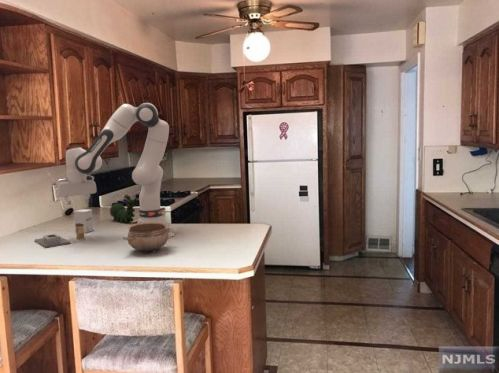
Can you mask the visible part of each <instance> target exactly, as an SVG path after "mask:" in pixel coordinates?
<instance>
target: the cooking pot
mask: <svg viewBox="0 0 499 373" xmlns="http://www.w3.org/2000/svg"><path fill="white" fill-rule="evenodd" d="M165 226H166V224H165V223H162V222H144V223H138V222H137V223H134V224H130V225H128V233H127V237H124V236H123V237H122V240H125V241H127V243H128V245H129V246H130V247H131V248H133V249H135V250H136V251H139V252H141V253H143V254H148V253H155V252H156V251H158V250H159V249H160V248H162V247H163V246H165V245H166V243H167V242H168V239H169V238H168V233H169V232H171V230H172V229H171V228H167V229H166V227H165ZM167 230H168V231H167ZM154 251H155V252H154Z"/></svg>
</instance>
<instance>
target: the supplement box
mask: <svg viewBox="0 0 499 373" xmlns="http://www.w3.org/2000/svg"><path fill="white" fill-rule="evenodd" d="M73 216H74V229H75V230H74V231H75V234H76V224H78V223H81V224H83V225H84V234H88V233H89V232H92V231H94V223H93V222H94V219H93V218H94V217H93V209H83V208H82V209H78V210H75V211H73Z"/></svg>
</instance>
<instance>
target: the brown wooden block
mask: <svg viewBox="0 0 499 373" xmlns="http://www.w3.org/2000/svg"><path fill="white" fill-rule="evenodd" d="M75 234H76V235H75V236H76V239H77V240H78V241H79V240H80V241H81V240H84V239H85V233H84V225H83V224H81V223H78V224H76V233H75Z"/></svg>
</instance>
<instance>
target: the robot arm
mask: <svg viewBox="0 0 499 373" xmlns="http://www.w3.org/2000/svg"><path fill="white" fill-rule="evenodd" d="M137 122H139V123H141V124H142V125H144V126H145V127H147V128H148V131H147V136H146V140H145V143H144V145H143V146H144V147H143V150H142V153H141V156H140V158H139V159H138V162H137V165H136V166H135V168H134V169H133V171H132V173H131V178H132V180H133V182H134V183H135V184H136V185H139V186H141V189H140V192H139V195H138V196H139V197H138V199H139V202H138V203H139V211H138V215H139V219H138V220H137V223H144V222H162V223H165V224H166V226H165V227H166V229H167V228H170V227H171V225H170V222H168V221H167V220H166V219H165V218H164V216H163V210H162V208H161V187H162V180H163V179H162V178H163V176H164V170H163V168H162V166H160V163H161V161H162V159H163V158H164V155H165V152H166V148H167V144H168V139H169V134H170V125H169V124H168V122H167V121H166V120H162V119H160V118H159V112H158V109H157V107H156V106H155V105H154V104H153V103H150V102H144V103H141V104H139V106H136V107H135V106H133V105H132V104H129V103H123V104H122V105H120V106H119V107H118V108H117V109H116V110H115V111H114V113H112V115H111V116H110V117H109V119H108V120H107V122H106V123H105V125H104V127H103V128H102V129H101V132H100V133H99V135H98V136H97V137H96V138H95V140H94V141H93V142H92V143H91V145H90V146H88V149H87V150H86V149H83V148H82V147H81V146H77V147H71V148H68V149H67V150H66V152H65V165H66V178H63V179H61V178H60V179H57V180H56V181H55V187H56V196H57V197H59V198H63V199H64V200H65V202H66V205H69V206H70V205H71V200H69V197H73V196H83V195H86V198H84V203H89V199H90V197H91V194H96V193H97V192H98V190H97V184H96V182H95V181H94V180H95V176H94V175H89V174H90V173H93V172H96V171H97V170H100V169H101V167H102V166H103V159H102V157H101V154H102V153H103V152H104V151H105V149H106V148H107V147H108V146H109V145H110V144H112V143H114V142H116V141H120V140H121V139H122V138H123V137H124V136H125V135H126V134H127V133H128V132H129V130H130V129H131V128H132V126H133V125H135V123H137ZM170 229H171V228H170ZM167 231H168V230H167ZM174 235H175V233H173V232H171V231H170V232H169V233H168V239H169V237H170V238H173V237H175V236H174ZM172 236H173V237H172Z"/></svg>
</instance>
